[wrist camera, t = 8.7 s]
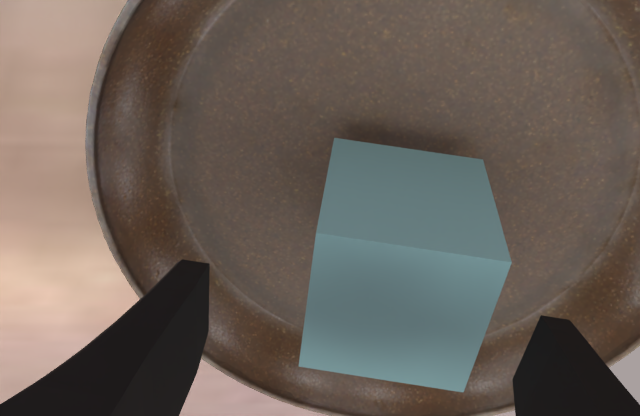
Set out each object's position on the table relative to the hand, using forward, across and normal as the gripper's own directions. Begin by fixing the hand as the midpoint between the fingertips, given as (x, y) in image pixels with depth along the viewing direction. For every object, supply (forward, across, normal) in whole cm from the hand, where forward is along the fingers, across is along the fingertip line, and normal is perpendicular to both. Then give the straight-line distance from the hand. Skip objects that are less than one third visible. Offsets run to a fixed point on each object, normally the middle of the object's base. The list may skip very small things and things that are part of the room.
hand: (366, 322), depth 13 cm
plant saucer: (+10, -1, +2) cm, 10 cm away
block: (+6, -1, +1) cm, 7 cm away
